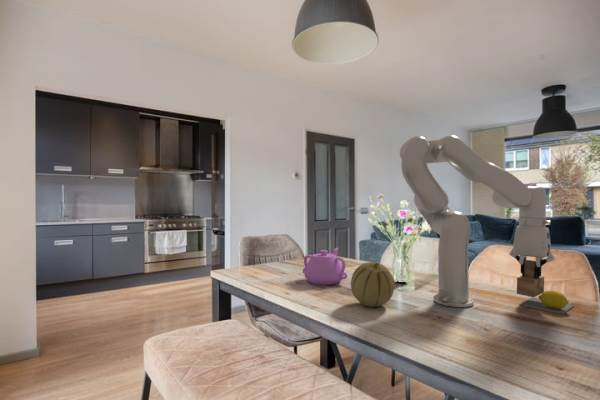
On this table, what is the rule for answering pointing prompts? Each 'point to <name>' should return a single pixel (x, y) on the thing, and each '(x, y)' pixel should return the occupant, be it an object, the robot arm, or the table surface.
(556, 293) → the lemon
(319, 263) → the teapot
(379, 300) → the cantaloupe
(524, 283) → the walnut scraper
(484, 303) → the table surface
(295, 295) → the table surface
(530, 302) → the slate mat
